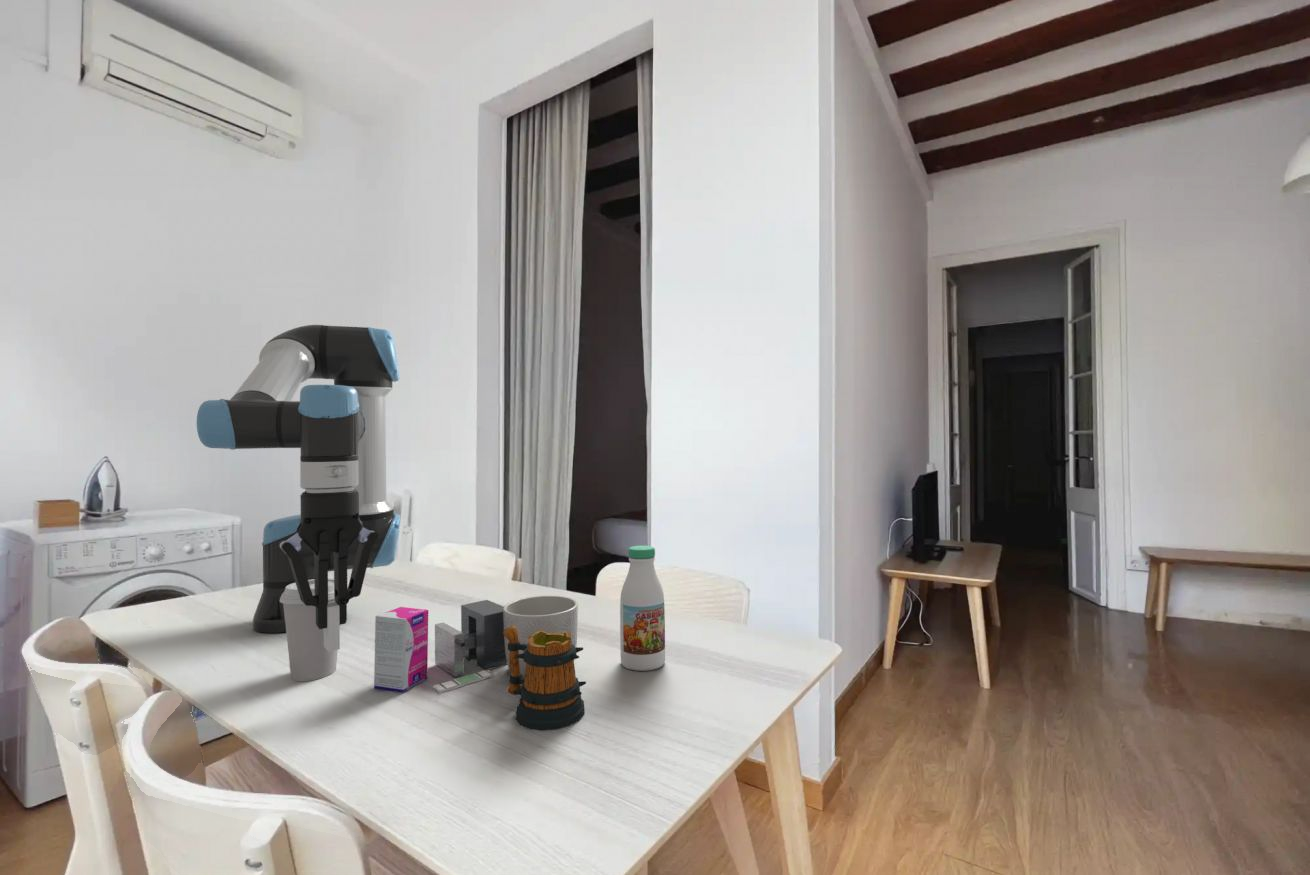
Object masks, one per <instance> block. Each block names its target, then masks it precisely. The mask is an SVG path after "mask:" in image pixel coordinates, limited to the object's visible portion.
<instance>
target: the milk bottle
mask: <svg viewBox="0 0 1310 875" xmlns="http://www.w3.org/2000/svg"><path fill="white" fill-rule="evenodd" d="M627 551H628V552H627V553H628V561H629V568H628V572H627V574H626V577H625V580H624V582H623V585H622V587H621V590H620V591H621V592H620V601H619V602H620V604H619V608H620V609H619V614H620V617H619V618H620V619H619V622H620V623H619V625H620V626H619V627H620V628H619V629H620V630H619V631H620V634H619V636H620V639H619V640H620V643H619V644H620V662H621V665H622V666H623V667H624V668H625V669H628V670H631V671H636V672H639V671H640V672H643V671H653V670H657V669H659V668H661V667H662V666H664V664H665V663H666V662H665V661H666V621H665V619H666V618H665V617H666V616H665V614H666V612H665V595H664V590H663V586H662V583H661V581H660V579H659V577H658V574H657V571H656V568H655V561H656V557H655V556H656V548H655V547H654V546H651V545H634V546H633V545H632V546H630V547H629V548H628V550H627Z"/></svg>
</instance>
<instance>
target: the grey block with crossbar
mask: <svg viewBox="0 0 1310 875" xmlns="http://www.w3.org/2000/svg"><path fill="white" fill-rule="evenodd" d="M475 647H477V638H476V632H473V633H469V634H465V635H463V633H462V632H461V630H458V629H456V628H455V627H453V626H451V625H449V624H447V623H446V622H439V623H434V663H435V665H437V666H439V667H440V668H441V669H443V670H444V671H446V672H448V673H449V674H451V675H452V676H454V677H458V676H461V675H464V672H465V671H464V669H465V668H464V667H465V666H464V665H465V662H464V660H465V658H464V653H463V651H464V650H468V649H472V648H475Z"/></svg>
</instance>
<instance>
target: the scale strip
mask: <svg viewBox="0 0 1310 875" xmlns="http://www.w3.org/2000/svg"><path fill="white" fill-rule="evenodd" d="M493 677H495V674H494V673H493V672H492V671H490V669H489V670H481V671H478V672H475V673H470V674H467V675H463V676H461V677H460V676H459V677H457V678H455V679H451V680H448V681H445V682H441V683H439V684H435V685H433V688H432V689H433V690H435V691H437V693H439V694H441V693H442V694H443V692H447V691H452V690H454V689H458V688H461V687H463V686H467V685H470V684H473V683H476V682H480V681H482V680H486V679H489V678H493ZM457 687H458V688H457Z"/></svg>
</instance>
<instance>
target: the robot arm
mask: <svg viewBox="0 0 1310 875" xmlns="http://www.w3.org/2000/svg"><path fill="white" fill-rule="evenodd" d="M398 366H399V365H398V358H397V352H396V346H395V341H394V337H393V335H392V333H391V332H390V331H388V330H387V329H385V328H384V329H382V328H376V327H367V326H366V327H364V326H363V327H362V326H361V327H360V326H345V325H344V326H343V325H326V324H325V325H323V324H307V325H304V326H303V325H302V326H299V327H294V328H291V329H288V330H287V331H284V332H282V333H280V334H277V335H276V336H274V337H272V338H271V339H270V340H268V342H267V343H265V345H264V346H263V347H262V348H261V350H260V352H259V356H258V363H257V365H256V366H255V367H254V369H253V370H252V371H251V373H250V374H249V375H248V376H247V378H246V379H245V380H244V381H243V383H242V384H241V386H240V387H238V389H237V391H236V392H235V393H234V394H233V396H232V397H231V398H230V399H225V398H220V399H209V400H205V401H203V402H202V403H201V404H200V405H199V407H198V410H197V414H196V431H197V435H198V438H199V441H200V443H201V444H202V445H203V446H204V447H206V448H210V449H229V450H233V451H234V450H239V449H240V450H242V449H243V450H245V449H250V450H251V449H252V450H253V449H300V457H299V458H300V459H299V460H300V463H299V464H300V467H299V468H300V470H299V475H300V476H299V477H300V479H299V480H300V481H299V482H300V484H299V486H300V488H301V489H303V490H304V491H303V492H302V493H301V494H300V495H299V496H300V514H295V515H291V516H284V517H282V518H277V519H273V520H271V521H269V522H268V523H266V524H265V525H264V528H263V536H262V543H261V546H262V579H263V580H262V583H263V585H262V593H261V596H260V598H259V600H258V604H257V607H256V609H255V612H254V614H253V619H252V628H253V631H256V632H258V633H265V634H267V633H268V634H273V633H276V634H277V633H286V624H285V615H284V607H283V603H281V602H280V597H281V595H282V593H283V592H284V591H285V588H286V586H287V585H289V584H292V583H296V586H297V589H298V592H299V596H300V599H301V601H302V602H303V603H304V604H305V605H307V606H315V607H316V625H317V627H318V628H319V629H324V647H325V649H326V650H327V651H328V652H330V651H334V650H338V651H339V650H340V648H341V645H340V644H341V642H340V641H341V640H340V638H341V637H340V633H341V632H340V628H341V625H345V624H346V623H347V621H348V616H347V615H348V609H347V608H348V603H349V601H350V600H351V599H354V598H357V597H360V595H361V593H362V589H363V586H364V585H363V584H364V582H365V581H364V580H365V576H366V572H367V569H368V568H370V569H374V568H379V567H387V566H389V565H391V564H392V563H394V561H395V558H396V552H397V547H398V541H399V540H398V539H399V532H400V526H401V525H400V524H401V514H398V513H395V514H394V510H395V509H394V505H393V504H391V503H390V502H389V501H388V500H387V459H386V458H387V451H386V450H387V448H386V447H387V446H386V445H387V444H386V442H387V438H386V437H387V436H386V435H387V434H386V432H387V431H386V397H387V395H389V393H390V392H391V391H392V390H393V382H394V383H396V382H398V381H399V380H400V373H399V367H398ZM308 379H315V380H316V379H317V380H318V379H319V380H321V379H323V380H333V384H308V385H304V386H303V387H302V388H301V390H300V391H299V401H298V400H297V401H296V400H294V401H293V398H294V396H295V394H296V392H297V391H298V389H299V387H300V385H301V383H304V382H306V381H307V380H308ZM348 570H351V574H350V578H349V583H348ZM332 571H333V579H334V598H335V601H333V602H328V578H329V572H332ZM311 579H315V596H314V595H312V592H311V588H310V585H309V582H308V580H311Z"/></svg>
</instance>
